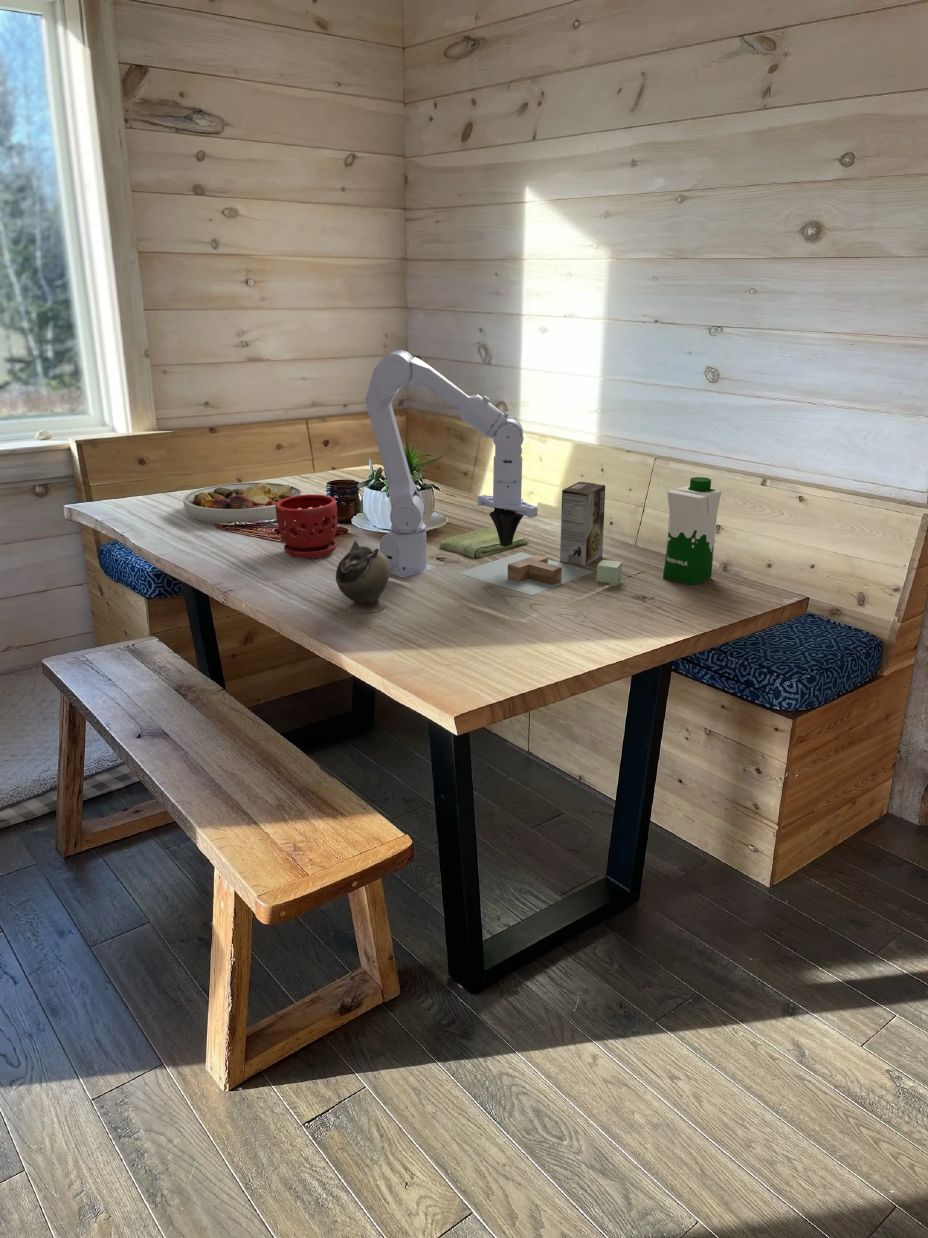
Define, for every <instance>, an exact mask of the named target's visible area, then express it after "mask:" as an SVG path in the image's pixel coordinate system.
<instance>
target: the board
mask: <svg viewBox="0 0 928 1238" xmlns="http://www.w3.org/2000/svg"><path fill="white" fill-rule="evenodd" d="M532 556H534V555H532V554H528V553H525V552H521V551H520V552H518V553H514V554H511V555H509V556H505V557H502V558H499V559H497V560H493V561H490V562H487V563H484V564H480V565H477V566H475V567H472V568H469V569H466V570H463V571H459V572H457V574H458V575H462V576H464V577H465V576H466V577H468V578H472V579H475V580H478V581H482V582H485V583H488V584H489V583H490V584H492V585H495V586H498V587H503V588H505V589H509V590H511V591H512V590H513V591H516V592H519V593H523V594H526V595H530V596H534V595H538V594H540V593H543V592H545V591H548V590H550V589H553V588H555V587H558V586H561V585H564V584H567V583H568V582H572V581H574V580H577V579H579V578H582V577H583V578H584V577H585V576H587V575H590V574H593V573H595V571H594V570H590V569H585V568H583V567H577V566H574V565H570V564H566V563H563V562H560V561H559V562H558V561H555V560H552V559H548V564H551V565H555V566H559V567H562V577H561V582H559V583H556V584H554V585H550V584H546V583H543V582H539V581H535V580H532V579H526V580H523V581H520V582H517V581H514V580H510V579H508V564H511V563H514V562H517V561H520V560H523V559H526V558H529V557H532Z"/></svg>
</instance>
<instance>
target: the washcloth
mask: <svg viewBox="0 0 928 1238" xmlns="http://www.w3.org/2000/svg"><path fill="white" fill-rule="evenodd" d="M529 544H530V543H529V540H527V539H525V538H524V537H522V536H518V535H516V534H514V537H513V541H512V545H510V546H506V547H504V546H501V545H500V540H499V536H498V532H497V529H496V527H488V528H481V529H480V528H479V529H477V530H474V531H473V530H472V531H470V532H467V533H464V534H458V535H453V536H450V537H446V538H445V539H443V540H442V541H440V543H439V547H440V549H443V550H446V551H450V552H452V553H457V554H461V555H463V556H466V557H469V558H470V559H476V558H482V559H483V558H485V557H488V556H492V555H493V554H498V553H501V552H503V551H507V550H510V549H513V548H516V547H517V548H518V547H519V546H525V545H529Z"/></svg>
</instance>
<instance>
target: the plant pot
mask: <svg viewBox="0 0 928 1238" xmlns="http://www.w3.org/2000/svg"><path fill="white" fill-rule="evenodd" d="M275 508H276V517H277V521H276V522H277V526H278V529H279V532H280V535H281V537H282V539H283V540H284V542H285V544H284V545H283V549H284V552H285V553H286V554H287V555H289V556H290V557H293V558H297V559H319V558H322V557H325V556H328V555H330V554H332V553H333V552H334V551H335V550H336V548H337V546H338V543H337V541H336V540H335V539H334V538H335V536H336V533H337V532H336V531H337V527H338V526H337V525H338V505H337V501H336V499H335V498H334V497H332V496H330V495H326V494H303V495H299V496H293V497H289V498H285V499H282V500H280V501H278V502H277V503H276V505H275ZM297 508H300V509H297Z"/></svg>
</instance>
